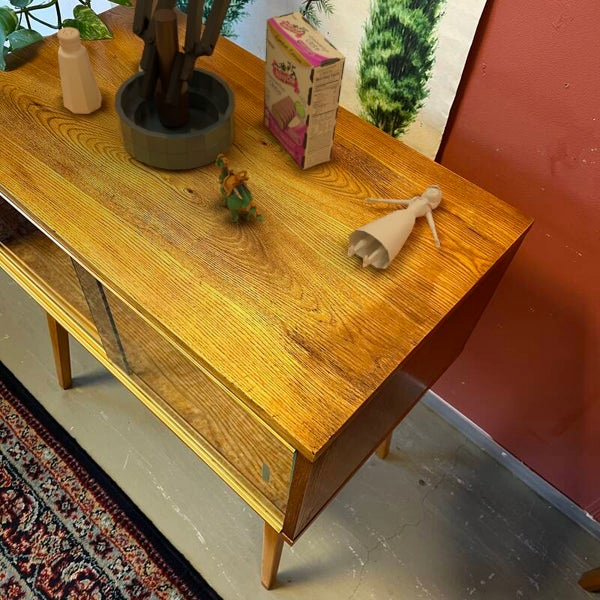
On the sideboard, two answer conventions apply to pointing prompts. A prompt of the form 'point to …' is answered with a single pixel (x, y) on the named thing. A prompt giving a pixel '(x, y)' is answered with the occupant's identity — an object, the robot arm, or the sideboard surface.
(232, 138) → the bowl
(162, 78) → the pestle
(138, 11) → the robot arm
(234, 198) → the figurine
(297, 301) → the sideboard surface
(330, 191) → the sideboard surface
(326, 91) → the candy bar box
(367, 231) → the woman figurine
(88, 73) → the pepper shaker
